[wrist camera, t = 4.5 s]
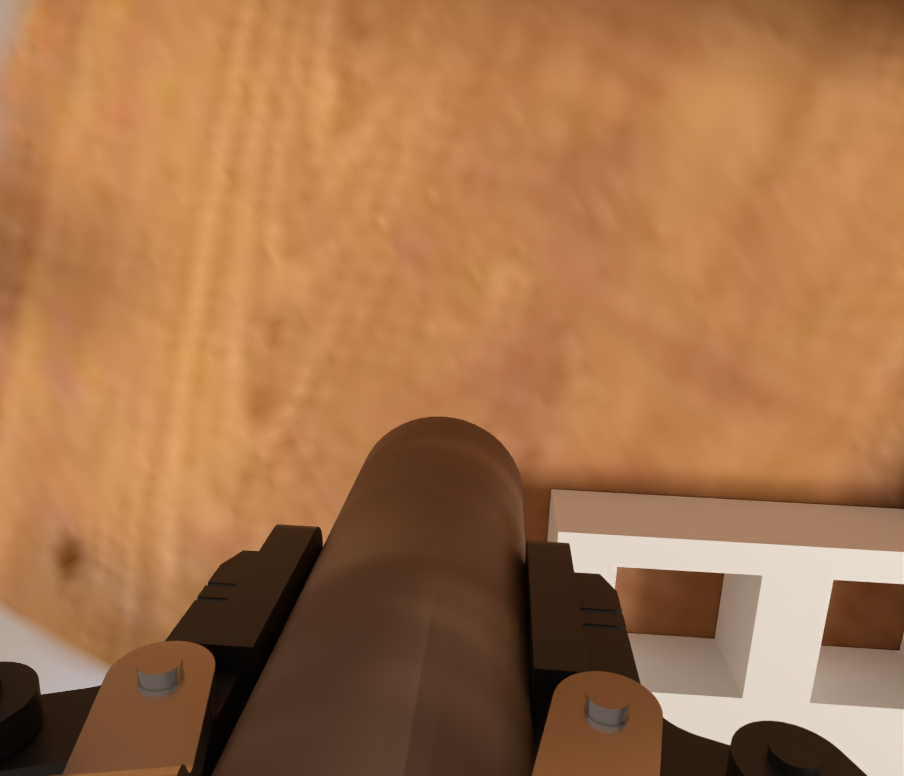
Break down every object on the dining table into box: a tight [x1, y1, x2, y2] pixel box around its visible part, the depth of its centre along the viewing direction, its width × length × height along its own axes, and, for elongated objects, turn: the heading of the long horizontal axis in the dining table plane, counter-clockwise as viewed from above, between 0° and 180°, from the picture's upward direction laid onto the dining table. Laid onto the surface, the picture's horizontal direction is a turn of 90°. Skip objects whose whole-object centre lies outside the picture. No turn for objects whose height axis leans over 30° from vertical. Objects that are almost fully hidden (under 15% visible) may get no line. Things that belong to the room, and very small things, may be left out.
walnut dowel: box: [211, 417, 535, 776], centre depth 11 cm, size 4×4×12 cm
